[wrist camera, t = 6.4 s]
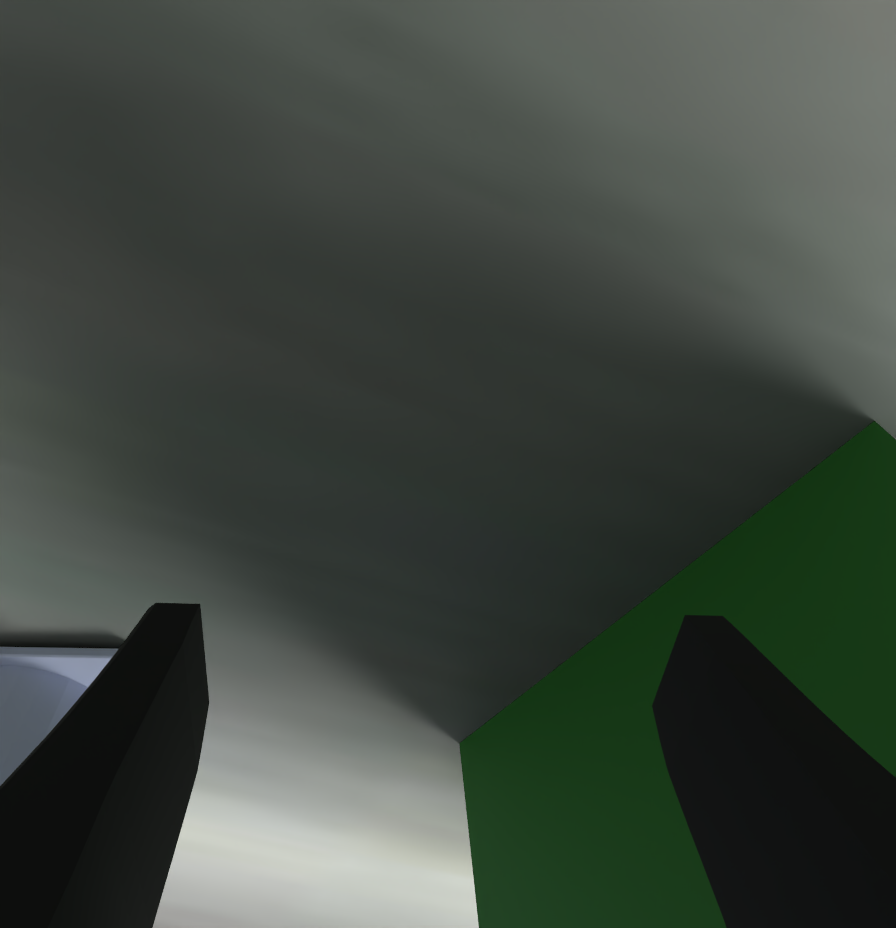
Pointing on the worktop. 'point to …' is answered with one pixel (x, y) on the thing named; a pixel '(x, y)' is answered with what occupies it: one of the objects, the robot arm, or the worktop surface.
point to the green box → (633, 723)
